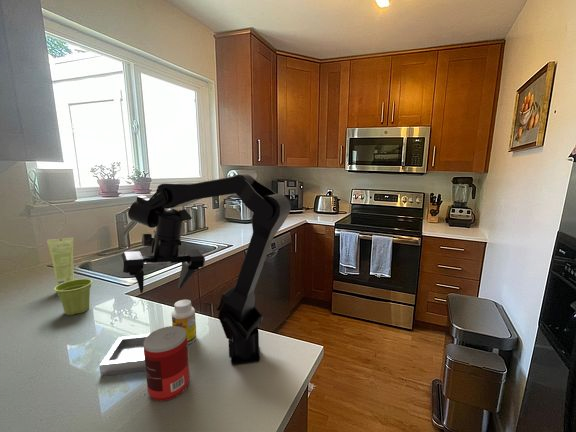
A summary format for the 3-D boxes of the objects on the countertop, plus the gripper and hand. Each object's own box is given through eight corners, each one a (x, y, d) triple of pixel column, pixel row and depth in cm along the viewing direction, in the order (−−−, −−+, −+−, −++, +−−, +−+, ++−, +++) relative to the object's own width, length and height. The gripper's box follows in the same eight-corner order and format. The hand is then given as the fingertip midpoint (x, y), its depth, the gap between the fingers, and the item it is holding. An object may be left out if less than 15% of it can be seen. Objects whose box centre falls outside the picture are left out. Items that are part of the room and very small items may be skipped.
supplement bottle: (168, 342, 71) (165, 304, 70) (186, 331, 76) (184, 296, 75) (184, 349, 69) (181, 310, 67) (201, 337, 73) (199, 300, 72)
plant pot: (75, 319, 83) (72, 291, 81) (49, 316, 85) (45, 289, 83) (102, 305, 92) (99, 279, 90) (78, 302, 94) (75, 277, 92)
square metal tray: (166, 341, 72) (166, 332, 71) (155, 369, 62) (155, 358, 61) (119, 346, 70) (118, 337, 69) (100, 376, 60) (99, 365, 59)
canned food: (194, 372, 61) (191, 325, 59) (181, 402, 53) (177, 348, 51) (158, 373, 61) (154, 325, 59) (140, 403, 53) (135, 349, 51)
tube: (68, 286, 107) (61, 236, 104) (80, 287, 106) (73, 236, 103) (53, 292, 101) (46, 240, 98) (65, 293, 100) (58, 240, 97)
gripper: (195, 222, 80) (188, 272, 84) (120, 221, 69) (115, 278, 72) (210, 237, 72) (200, 291, 76) (126, 238, 60) (120, 302, 64)
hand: (161, 289), depth 72 cm, fingers open, 9 cm apart
